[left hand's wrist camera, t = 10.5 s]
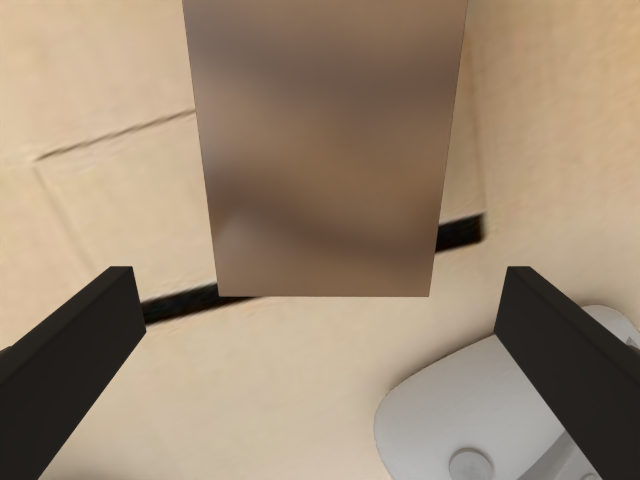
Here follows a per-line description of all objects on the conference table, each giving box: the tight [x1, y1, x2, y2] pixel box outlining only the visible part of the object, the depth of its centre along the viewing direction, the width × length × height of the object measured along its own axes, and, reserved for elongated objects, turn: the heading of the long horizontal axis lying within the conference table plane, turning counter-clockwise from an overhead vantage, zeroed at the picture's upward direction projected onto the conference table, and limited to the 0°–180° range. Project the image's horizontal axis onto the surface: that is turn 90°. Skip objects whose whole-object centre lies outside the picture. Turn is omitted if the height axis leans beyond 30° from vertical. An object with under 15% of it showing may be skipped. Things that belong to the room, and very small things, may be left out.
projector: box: [374, 305, 640, 480], centre depth 28 cm, size 22×23×15 cm
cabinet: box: [182, 0, 468, 297], centre depth 19 cm, size 20×10×12 cm, turn 0°
